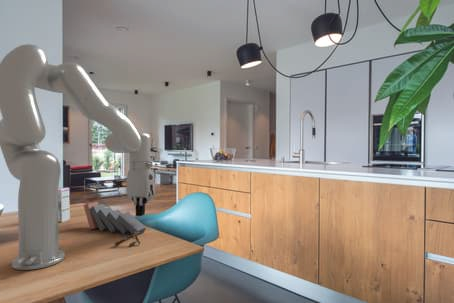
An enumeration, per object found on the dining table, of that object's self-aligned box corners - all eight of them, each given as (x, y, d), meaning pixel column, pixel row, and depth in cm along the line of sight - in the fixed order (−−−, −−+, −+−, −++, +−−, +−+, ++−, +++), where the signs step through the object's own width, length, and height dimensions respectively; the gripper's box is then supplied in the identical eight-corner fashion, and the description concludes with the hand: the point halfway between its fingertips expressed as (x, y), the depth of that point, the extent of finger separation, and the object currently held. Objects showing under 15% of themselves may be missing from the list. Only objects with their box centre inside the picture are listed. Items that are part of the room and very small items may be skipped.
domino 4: (135, 226, 112) (118, 209, 115) (125, 229, 107) (108, 212, 110) (132, 230, 113) (115, 214, 116) (123, 234, 108) (106, 216, 111)
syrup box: (70, 219, 131) (70, 187, 130) (61, 222, 125) (61, 189, 124) (58, 218, 131) (58, 187, 131) (49, 222, 125) (48, 188, 125)
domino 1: (104, 225, 118) (97, 201, 119) (94, 228, 113) (87, 203, 114) (100, 226, 119) (93, 203, 120) (90, 229, 114) (83, 205, 115)
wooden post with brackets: (142, 243, 96) (136, 231, 95) (119, 254, 94) (113, 242, 94) (143, 241, 97) (137, 229, 97) (120, 252, 96) (114, 240, 95)
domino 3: (124, 225, 114) (109, 206, 117) (115, 228, 109) (100, 209, 112) (121, 229, 115) (106, 210, 117) (111, 232, 110) (96, 213, 113)
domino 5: (146, 227, 110) (128, 211, 113) (137, 230, 105) (119, 214, 108) (143, 232, 110) (125, 216, 114) (134, 236, 106) (116, 219, 109)
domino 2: (114, 224, 116) (102, 203, 118) (104, 228, 111) (93, 205, 113) (110, 227, 117) (99, 206, 119) (101, 231, 112) (89, 209, 114)
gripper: (162, 166, 108) (163, 215, 109) (130, 165, 114) (131, 211, 114) (150, 167, 101) (150, 219, 102) (116, 166, 107) (117, 215, 107)
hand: (140, 215), depth 108 cm, fingers closed
